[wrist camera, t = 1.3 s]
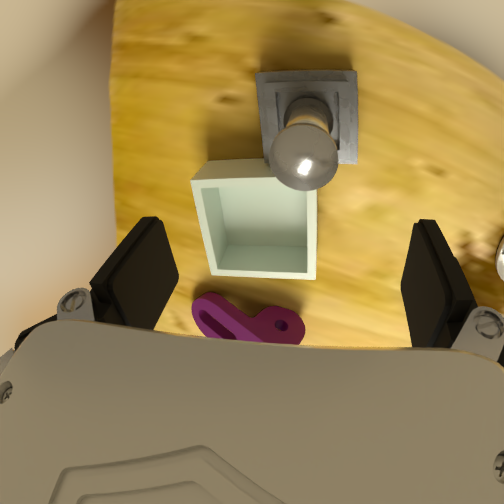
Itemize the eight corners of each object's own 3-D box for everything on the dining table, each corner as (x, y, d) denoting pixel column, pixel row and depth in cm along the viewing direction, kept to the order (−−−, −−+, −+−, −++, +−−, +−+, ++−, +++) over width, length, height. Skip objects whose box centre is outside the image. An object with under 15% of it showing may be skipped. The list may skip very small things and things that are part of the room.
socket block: (353, 70, 27) (358, 72, 24) (354, 155, 33) (358, 169, 30) (260, 71, 29) (252, 74, 26) (268, 154, 35) (262, 168, 32)
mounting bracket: (219, 299, 60) (294, 355, 54) (189, 322, 55) (268, 385, 48) (228, 264, 55) (313, 325, 48) (194, 287, 49) (286, 358, 42)
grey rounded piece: (331, 95, 27) (341, 123, 17) (333, 140, 30) (341, 194, 20) (283, 96, 28) (262, 124, 18) (286, 140, 31) (268, 193, 21)
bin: (316, 157, 34) (316, 177, 30) (317, 250, 42) (315, 279, 37) (207, 160, 37) (190, 180, 32) (223, 247, 45) (211, 275, 40)
